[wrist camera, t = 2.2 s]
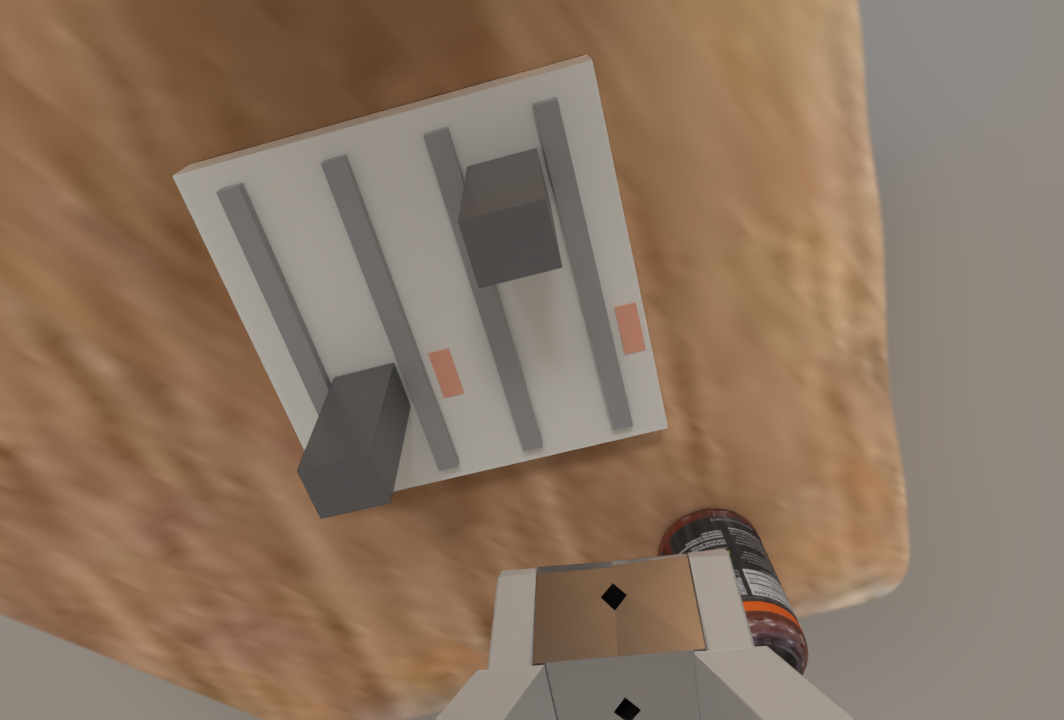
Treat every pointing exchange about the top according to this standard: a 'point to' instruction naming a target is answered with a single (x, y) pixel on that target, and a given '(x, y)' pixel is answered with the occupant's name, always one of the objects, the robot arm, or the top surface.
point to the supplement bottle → (744, 577)
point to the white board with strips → (439, 274)
